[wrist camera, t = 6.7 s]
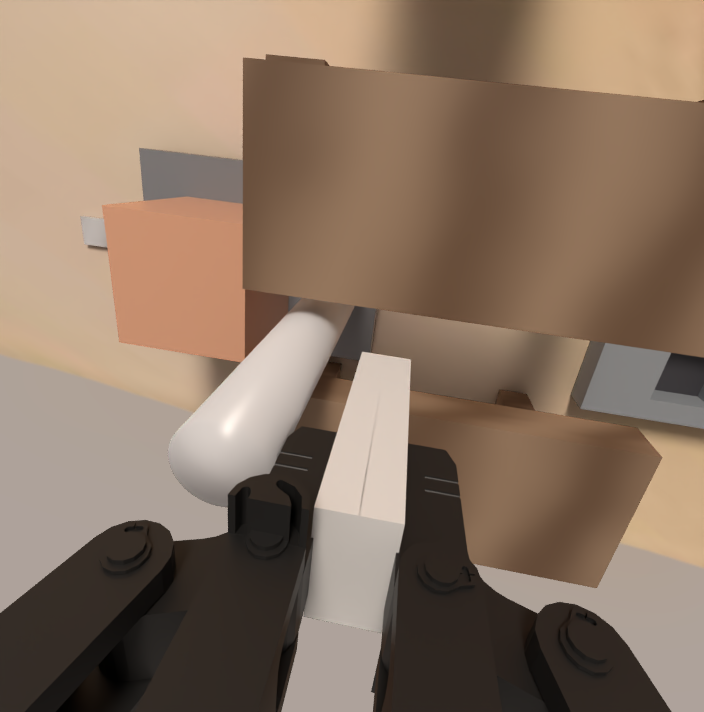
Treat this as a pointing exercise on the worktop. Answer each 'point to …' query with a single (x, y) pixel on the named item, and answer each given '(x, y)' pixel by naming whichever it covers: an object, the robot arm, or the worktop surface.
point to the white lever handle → (219, 318)
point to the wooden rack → (485, 265)
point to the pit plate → (642, 384)
